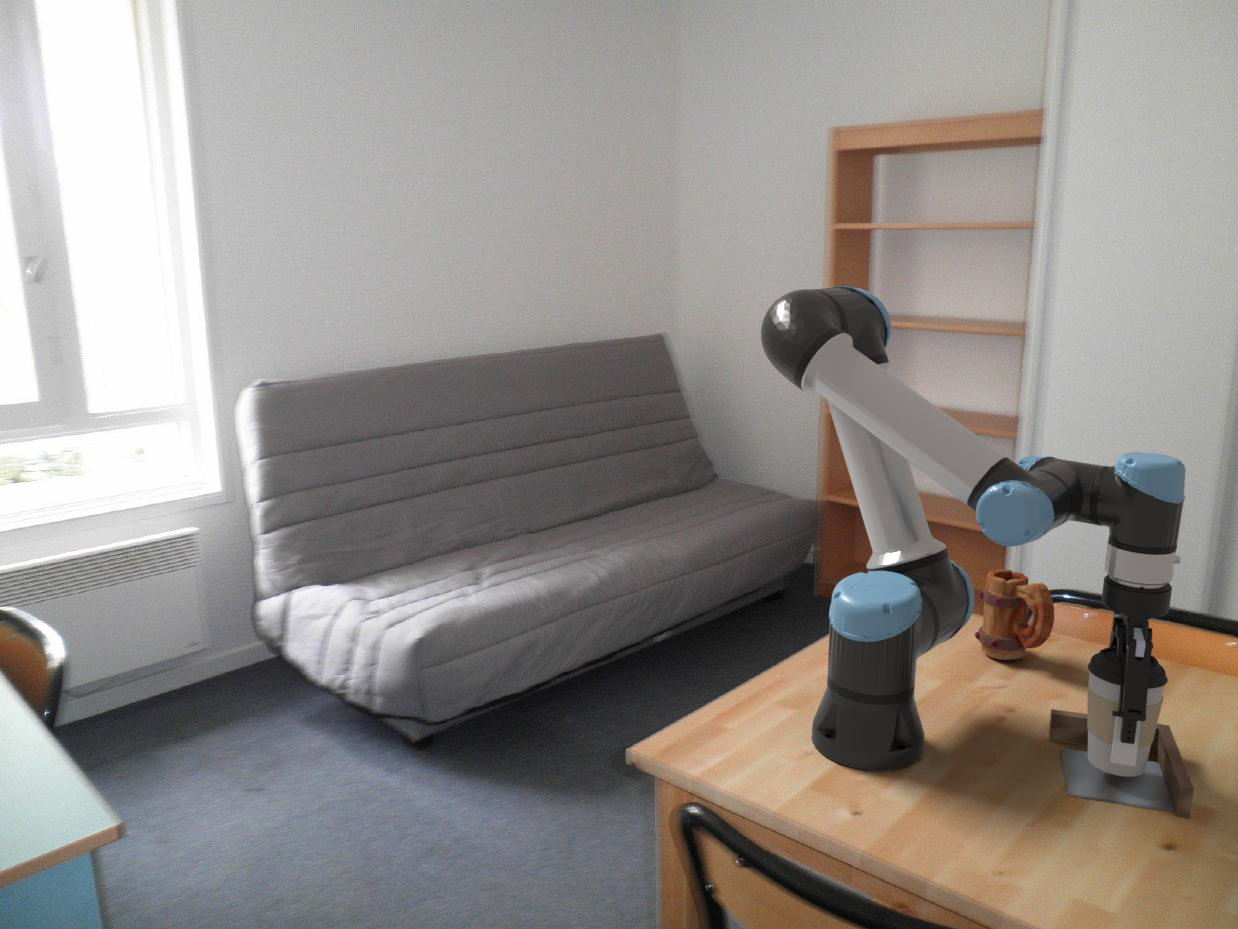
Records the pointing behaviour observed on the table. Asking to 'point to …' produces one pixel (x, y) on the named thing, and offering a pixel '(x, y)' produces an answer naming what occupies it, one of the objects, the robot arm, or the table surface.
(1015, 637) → the mug
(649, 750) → the table surface
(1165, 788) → the arena
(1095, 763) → the coffee cup
